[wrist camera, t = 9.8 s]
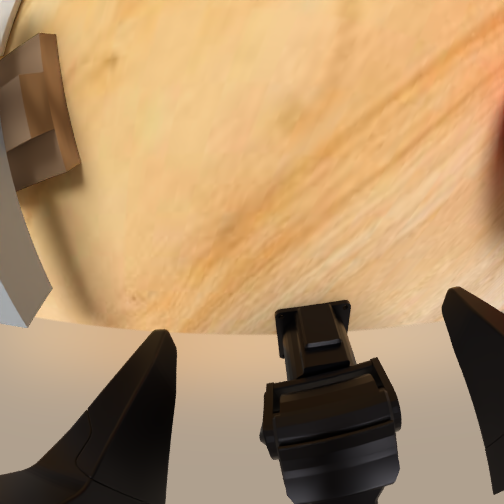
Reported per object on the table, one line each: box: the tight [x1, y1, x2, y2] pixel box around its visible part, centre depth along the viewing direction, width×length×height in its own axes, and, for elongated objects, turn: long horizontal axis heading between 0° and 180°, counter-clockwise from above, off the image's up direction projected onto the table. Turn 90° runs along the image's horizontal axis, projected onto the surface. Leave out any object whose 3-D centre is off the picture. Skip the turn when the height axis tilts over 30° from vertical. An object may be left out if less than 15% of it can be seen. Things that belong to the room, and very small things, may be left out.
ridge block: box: [0, 33, 81, 191], centre depth 12 cm, size 10×8×4 cm
